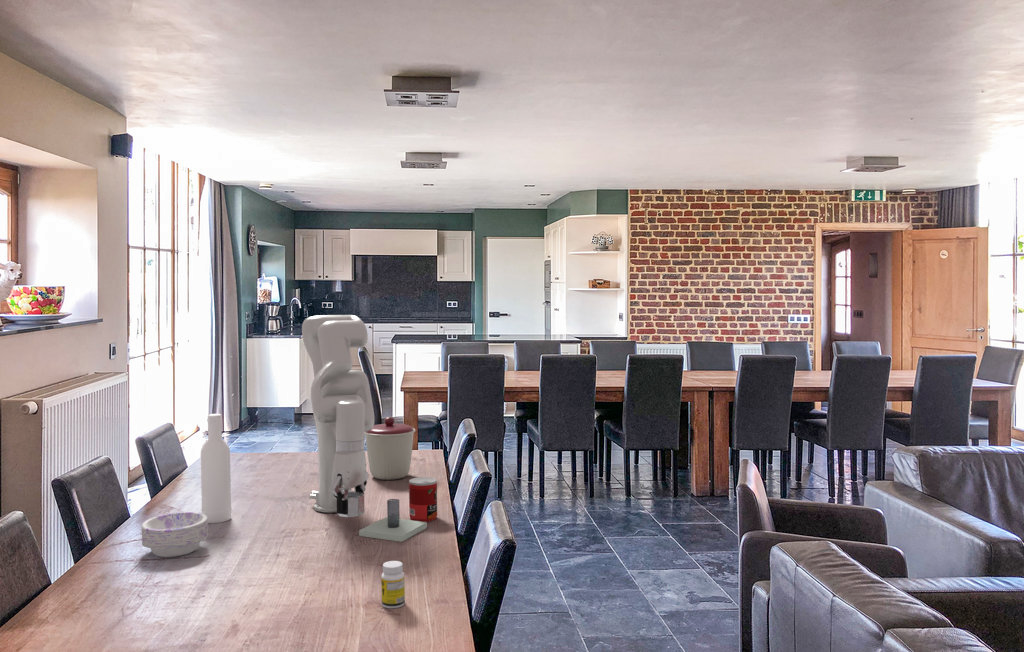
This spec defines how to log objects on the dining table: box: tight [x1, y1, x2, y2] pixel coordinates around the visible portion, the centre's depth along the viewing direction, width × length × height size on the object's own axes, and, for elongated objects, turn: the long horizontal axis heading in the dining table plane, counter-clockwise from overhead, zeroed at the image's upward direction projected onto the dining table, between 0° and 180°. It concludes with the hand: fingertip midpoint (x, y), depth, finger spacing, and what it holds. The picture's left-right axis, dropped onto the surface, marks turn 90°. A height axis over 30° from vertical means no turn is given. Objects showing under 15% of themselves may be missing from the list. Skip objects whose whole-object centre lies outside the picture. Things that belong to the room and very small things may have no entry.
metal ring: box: [336, 490, 365, 518], centre depth 210 cm, size 7×7×5 cm
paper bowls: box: [141, 511, 209, 558], centre depth 191 cm, size 15×15×8 cm
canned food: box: [408, 476, 438, 523], centre depth 219 cm, size 8×8×11 cm
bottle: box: [200, 413, 233, 524], centre depth 218 cm, size 8×8×30 cm
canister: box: [364, 416, 416, 481], centre depth 269 cm, size 18×18×21 cm
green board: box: [358, 516, 428, 543], centre depth 206 cm, size 13×13×2 cm
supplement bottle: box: [380, 560, 406, 609], centre depth 157 cm, size 5×5×8 cm
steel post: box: [386, 498, 401, 528], centre depth 206 cm, size 3×3×7 cm
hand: (350, 509), depth 210 cm, fingers closed on metal ring, 7 cm apart
